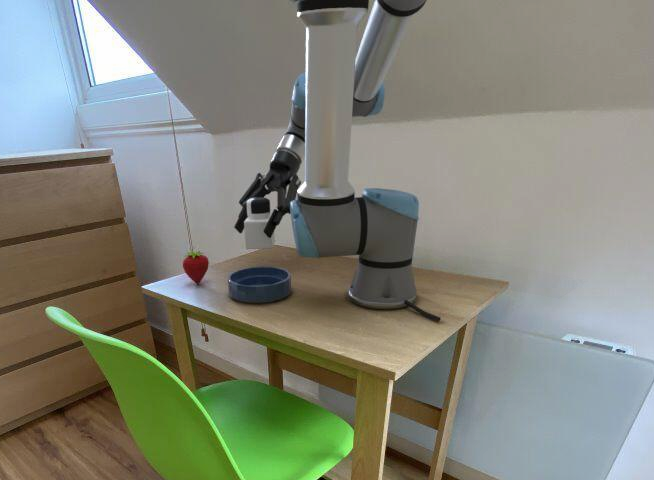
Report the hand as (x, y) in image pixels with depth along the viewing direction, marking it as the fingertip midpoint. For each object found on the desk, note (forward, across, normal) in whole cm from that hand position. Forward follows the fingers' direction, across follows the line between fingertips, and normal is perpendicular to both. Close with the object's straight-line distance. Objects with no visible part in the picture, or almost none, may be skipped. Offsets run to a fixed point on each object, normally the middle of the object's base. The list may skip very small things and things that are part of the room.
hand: (252, 232), depth 113 cm
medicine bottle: (+1, 0, -5) cm, 5 cm away
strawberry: (+18, +8, +1) cm, 20 cm away
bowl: (+15, -11, -1) cm, 19 cm away
